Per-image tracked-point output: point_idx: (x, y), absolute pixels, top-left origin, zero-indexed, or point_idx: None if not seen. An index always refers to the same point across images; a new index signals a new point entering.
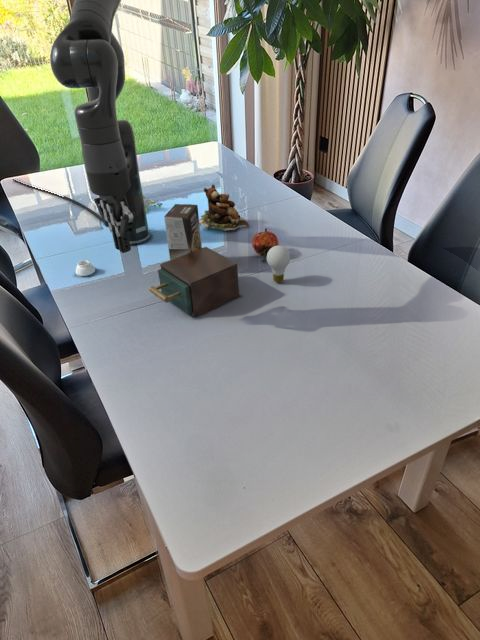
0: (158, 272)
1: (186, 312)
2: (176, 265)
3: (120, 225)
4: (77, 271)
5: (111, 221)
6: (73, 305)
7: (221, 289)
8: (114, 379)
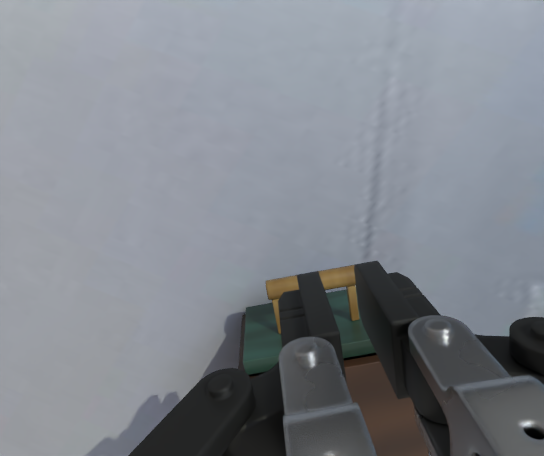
0: None
1: (254, 307)
2: (376, 392)
3: (422, 428)
4: None
5: (354, 437)
6: (522, 35)
7: None
8: (69, 27)
